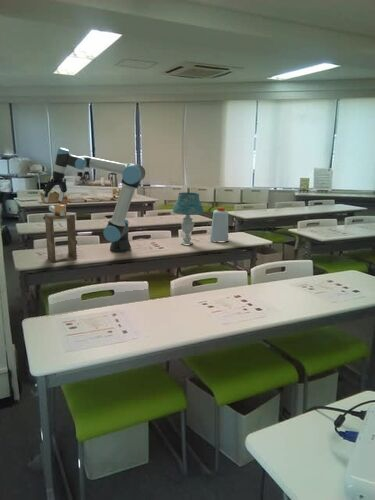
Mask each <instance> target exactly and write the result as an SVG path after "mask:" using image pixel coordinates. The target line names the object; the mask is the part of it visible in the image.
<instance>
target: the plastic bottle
mask: <svg viewBox="0 0 375 500" xmlns="http://www.w3.org/2000/svg"><path fill="white" fill-rule="evenodd" d="M210 240H211V241H228V242H229V211H228V210H226V208H225V207H223V206H218V207H217V208H216V209H215V210H213V214H212V222H211V228H210V235H209V241H210ZM211 241H210V242H211Z"/></svg>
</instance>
